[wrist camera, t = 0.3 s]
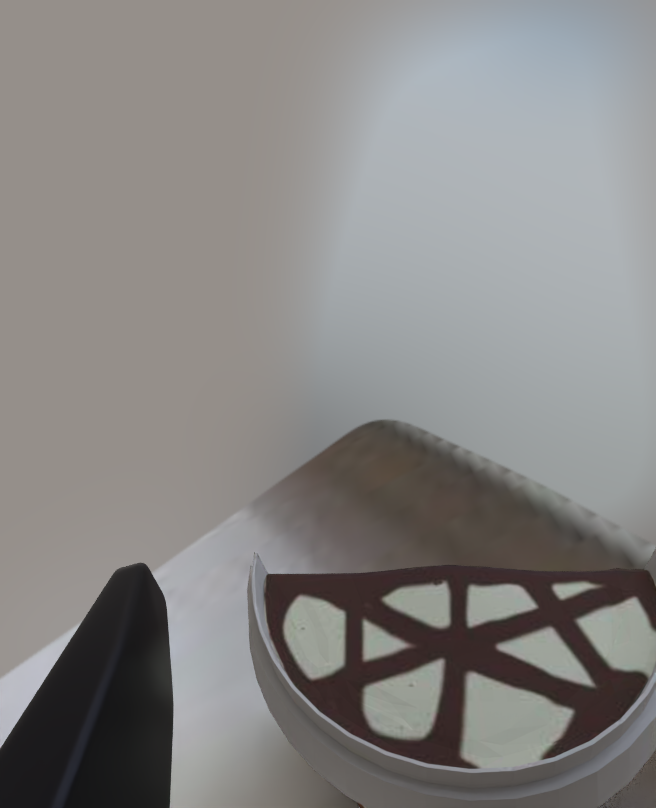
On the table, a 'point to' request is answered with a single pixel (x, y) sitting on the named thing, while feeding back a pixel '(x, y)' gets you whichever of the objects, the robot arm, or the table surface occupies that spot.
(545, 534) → the table surface
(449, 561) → the table surface
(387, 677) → the food container
